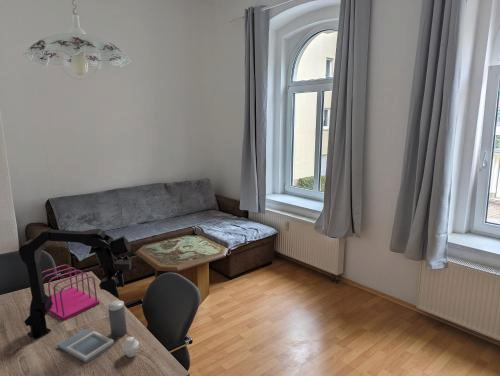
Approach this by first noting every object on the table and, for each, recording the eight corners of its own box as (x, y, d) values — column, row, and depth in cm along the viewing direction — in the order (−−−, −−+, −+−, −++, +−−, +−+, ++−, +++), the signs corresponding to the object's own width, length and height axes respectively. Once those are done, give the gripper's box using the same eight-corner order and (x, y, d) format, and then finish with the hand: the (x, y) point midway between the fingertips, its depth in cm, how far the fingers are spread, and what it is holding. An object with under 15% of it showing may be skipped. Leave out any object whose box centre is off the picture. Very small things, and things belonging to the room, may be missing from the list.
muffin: (135, 346, 136) (133, 330, 134) (142, 354, 131) (141, 337, 130) (119, 354, 132) (118, 337, 130) (126, 362, 127) (125, 345, 126)
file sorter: (72, 289, 182) (69, 261, 179) (100, 304, 168) (96, 273, 165) (37, 304, 169) (32, 274, 165) (63, 321, 154) (58, 288, 151)
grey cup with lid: (108, 334, 144) (104, 305, 141) (120, 327, 149) (117, 299, 146) (117, 339, 140) (114, 309, 138) (129, 331, 145) (127, 302, 143)
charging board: (57, 347, 136) (56, 342, 136) (85, 330, 146) (85, 326, 146) (86, 363, 127) (85, 358, 127) (114, 344, 137) (113, 340, 137)
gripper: (120, 261, 135) (135, 296, 139) (129, 244, 153) (142, 275, 157) (91, 271, 134) (107, 306, 138) (104, 252, 152) (118, 284, 156)
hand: (120, 292), depth 147 cm, fingers open, 9 cm apart
